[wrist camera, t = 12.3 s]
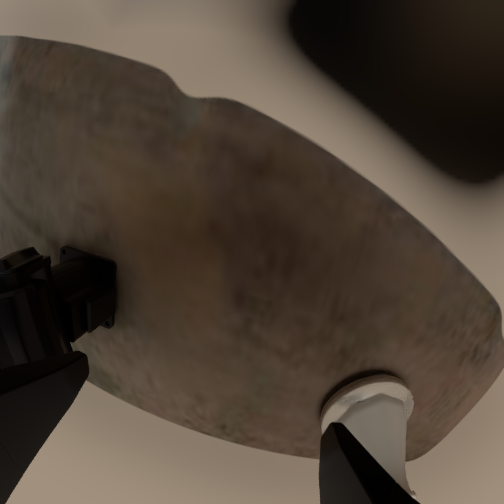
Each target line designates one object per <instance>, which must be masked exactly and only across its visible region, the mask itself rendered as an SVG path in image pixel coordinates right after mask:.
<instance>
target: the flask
mask: <svg viewBox="0 0 504 504" xmlns="http://www.w3.org/2000/svg"><path fill="white" fill-rule="evenodd" d="M336 422H341V423H343V424H344V425H345V426H346V427H347V429H348V430H349V431H350V432H351V433H352V434H353V435H354V436H355V438H356V439H357V440H358V441H359V442H360V443H361V444H362V445H363V446H364V448H365V449H366V450H367V451H368V452H369V453H370V454H371V455H372V456H373V457H374V458H375V459H376V461H377V462H378V463H379V464H380V465H381V466H382V467H383V468H384V469H385V470H386V471H387V472H388V473H389V474H390V475H391V476H392V478H393V479H394V480H395V481H396V482H397V483H398V484H399V485H400V486H401V487H402V488H403V489H404V490H405V491H406V492H407V493H408V494H410V495H411V496H412V497H413V498H414V499H415V500H416V493H415V492H414V491H411V490H410V488H409V485H408V481H407V478H406V471H405V449H406V413H405V407H404V402H403V400H400V399H397V398H394V397H391V396H388V395H385V394H380V395H377V396H375V397H373V398H371V399H368V400H366V401H364V402H361V403H359V404H356V405H354V406H351V407H350V408H349V409H348V410H347V411H346V412H345V413H344V414H343V415H342V416H341V417H340V418H339V419H338V420H337V421H336Z"/></svg>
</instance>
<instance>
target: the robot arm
mask: <svg viewBox="0 0 504 504" xmlns="http://www.w3.org/2000/svg"><path fill="white" fill-rule="evenodd" d="M65 251H66V253H65ZM50 264H51V258H50V256H43V255H40V254H39V253H38V252H37V251H36V250H35V248H34V247H29V248H25V249H22V250H19V251H16V252H13V253H11V254H9V255H7V256H5V257H3V258H1V259H0V504H5V503H6V502H7V500H8V498H9V497H10V495H11V493H12V492H13V490H14V489H15V487H16V485H17V484H18V482H19V481H20V479H21V477H22V476H23V474H24V473H25V471H26V469H27V468H28V466H29V465H30V463H31V462H32V460H33V459H34V457H35V456H36V454H37V453H38V451H39V450H40V448H41V447H42V446H43V444H44V443H45V441H46V440H47V438H48V437H49V435H50V434H51V433H52V431H53V430H54V428H55V427H56V426H57V424H58V423H59V421H60V420H61V419H62V417H63V416H64V415H65V413H66V412H67V410H68V409H69V408H70V406H71V405H72V403H73V401H74V400H75V398H76V396H77V395H78V393H79V391H80V389H81V388H82V386H83V384H84V382H85V381H86V379H87V377H88V375H89V365H88V357H87V355H86V354H84V353H82V352H80V351H73V350H72V347H71V344H70V342H75V341H76V340H77V339H78V338H80V337H81V336H82V335H83V334H85V333H86V332H88V333H91V332H92V331H93V330H95V329H96V328H97V327H98V326H100V325H101V326H103V327H105V328H108V329H110V328H111V327H113V325H114V314H115V298H116V288H115V275H116V265H115V263H114V262H113V261H112V260H108V259H105V258H102V257H99V256H96V255H93V254H90V253H86V252H83V251H80V250H77V249H74V248H71V247H68V246H63V247H62V248H61V251H60V264H57V265H55V266H52V267H51V265H50ZM109 265H110V266H111V269H110V267H109ZM107 321H108V322H109V324H108V322H107ZM319 488H320V504H420V503H419V502H418V501H416V500H415V499H414V498H413V497H412V496H411V495H410V494H408V493H407V492H406V491H405V490H404V489H403V488H402V487H401V486H400V485H399V484H398V483H397V482H396V481H395V480H394V479H393V478H392V476H391V475H390V474H389V473H388V472H387V471H386V470H385V469H384V468H383V467H382V466H381V465H380V464H379V463H378V462H377V461H376V459H375V458H374V457H373V456H372V455H371V454H370V453H369V452H368V451H367V450H366V449H365V448H364V446H363V445H362V444H361V443H360V442H359V441H358V440H357V439H356V438H355V436H354V435H353V434H352V433H351V432H350V431H349V430H348V429H347V427H346V426H345V425H344V424H343V423H341V422H331V423H330V424H329V425H328V427H327V429H326V430H325V432H324V433H323V435H322V437H321V444H320V463H319Z"/></svg>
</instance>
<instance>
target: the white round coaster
mask: <svg viewBox="0 0 504 504" xmlns="http://www.w3.org/2000/svg"><path fill="white" fill-rule="evenodd" d="M380 394H385V395H388V396H391V397H394V398H397V399H400V400H403V402H404V407H405V413H406V422H407V420H408V419H409V417H410V415H411V413H412V410H413V406H414V400H413V396H412V394H411V392H410V391H409V389H408V387H407V386H406V384H405V383H404V382H403V381H402V380H401V379H399V378H397V377H395V376H391V375H387V373H385V372H383V371H378V372H375V373H373V374H372V375H371V376H368V377H365V378H361V379H359V380H356V381H354V382H352V383H350V384H348V385H346V386H344V387H343V388H341V389H340V390H338V391H337V392H336V393H335V394H334V395H333V396H332V397H331V398H330V399H329V400H328V401H327V402H326V404H325V405H324V407H323V409H322V412H321V415H320V422H321V428H322V435H323V433H324V432H325V430H326V429H327V427H328V425H329V424H330V423H331V422H336V421H337V420H338V419H339V418H340V417H341V416H342V415H343V414H344V413H345V412H346V411H347V410H348V409H349V408H350V407H351V406H354V405H356V404H359V403H361V402H364V401H366V400H368V399H371V398H373V397H375V396H377V395H380Z"/></svg>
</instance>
